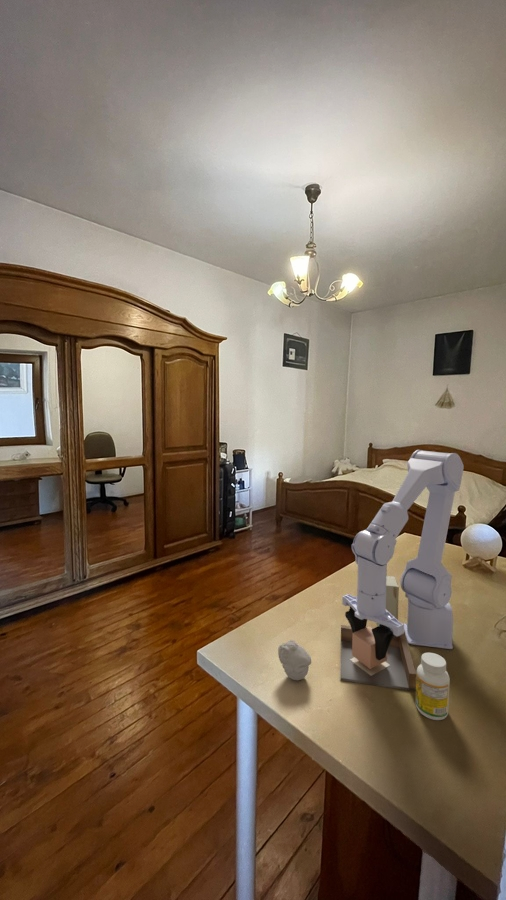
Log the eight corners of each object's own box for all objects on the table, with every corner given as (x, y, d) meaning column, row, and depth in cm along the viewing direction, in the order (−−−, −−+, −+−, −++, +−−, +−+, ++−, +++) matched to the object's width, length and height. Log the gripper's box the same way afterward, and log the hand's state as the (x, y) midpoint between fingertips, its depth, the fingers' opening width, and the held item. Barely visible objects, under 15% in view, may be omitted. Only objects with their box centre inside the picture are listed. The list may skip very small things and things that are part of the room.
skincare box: (398, 636, 90) (399, 587, 89) (379, 634, 91) (380, 585, 90) (393, 621, 97) (395, 575, 95) (375, 620, 97) (377, 574, 96)
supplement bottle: (443, 726, 65) (446, 674, 64) (411, 710, 68) (413, 660, 67) (451, 707, 69) (453, 658, 68) (420, 693, 72) (422, 646, 71)
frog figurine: (285, 662, 81) (285, 631, 81) (316, 673, 78) (316, 641, 77) (272, 679, 76) (272, 647, 76) (304, 692, 73) (305, 658, 72)
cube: (368, 647, 84) (369, 626, 83) (387, 660, 79) (387, 638, 79) (352, 655, 81) (352, 633, 80) (370, 668, 77) (370, 645, 76)
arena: (404, 646, 86) (404, 632, 86) (415, 691, 73) (416, 674, 72) (340, 638, 90) (341, 624, 89) (340, 680, 76) (340, 663, 76)
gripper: (332, 580, 83) (331, 639, 84) (387, 610, 70) (385, 678, 72) (355, 572, 86) (354, 629, 88) (411, 599, 74) (409, 664, 76)
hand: (370, 650), depth 80 cm, fingers closed on cube, 5 cm apart
